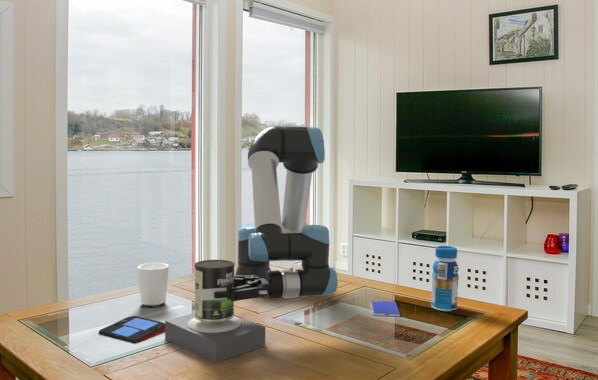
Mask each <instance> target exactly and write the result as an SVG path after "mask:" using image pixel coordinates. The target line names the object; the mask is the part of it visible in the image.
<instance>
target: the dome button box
mask: <svg viewBox="0 0 598 380" xmlns="http://www.w3.org/2000/svg"><path fill="white" fill-rule="evenodd" d="M164 323H165V331H164V339H165V340H167V341H169V342H171V343H173V344H175V345H177V346H179V347H182V348H183V349H185V350H188V351H190V352H192V353H194V354H196V355H198V356H200V357H202V358H204V359H206V360H208V361H210V362H213V363H215V364H218V363H220V362H222V361H226V360H228V359H231V358H234V357H238V356H240V355H242V354H245V353H248V352H251V351H253V350H257V349H258V348H259V349H260V348H262V347H264V345H265V346H266V326H265V325H262V324H259V323H256V322H253V321H251V320H248V319H245V318H242V317H239V316H237V315H234V317H233V318H232V319H230V320H227V321H223V322H203V321H199V320H197V319H196V318H195V312H193V313H189V314H185V315H182V316H177V317H173V318H170V319H165V320H164Z"/></svg>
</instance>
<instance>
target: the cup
mask: <svg viewBox="0 0 598 380" xmlns="http://www.w3.org/2000/svg"><path fill="white" fill-rule="evenodd" d="M136 268H137V277H138V287H139V295H140V297H139V298H140V303H141V304H142V306H143V307H144V308H148V307H150V306H151V308H157V307H158V306H165V303H166V299H167V291H168V290H167V289H168V280H169V270H170V269H169V268H170V265H169V264H168V263H165V262H146V263H142V264H139V265H138V266H137V267H136Z"/></svg>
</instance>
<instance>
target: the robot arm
mask: <svg viewBox="0 0 598 380" xmlns="http://www.w3.org/2000/svg"><path fill="white" fill-rule="evenodd" d="M325 148H326V147H325V141H324V135H323V132H322V130H321V129H320V128H319V127H315V126H314V127H313V126H286V125H285V126H283V125H282V126H281V125H273V126H269V127H266V128H265V129H263V130H262V131H260V132H259V133H258V134H257V135H256V136H255V137H254V139H253V140H252V141H251V144H250V146H249V148H248V151H247V152H248V153H247V165H248V167H249V169H250V170H251V180H252V182H251V183H252V198H253V216H254V217H253V218H254V220H253V221H254V223H253V222H252V223H248V224H244V225H241V227H240V228H239V229H238V232H237V233H238V234H237V268H236V271H235V273H234V288H231V287H230V286H227V288H211V289H200V300H201V301H202V300H217V299H229V300H230V299H231V301H234V302H239V301H245V300H250V299H257V298H266V297H267V299H269V300H273V299H293V298H300V297H303V298H304V297H322V296H328V295H332V294H335V293H336V291H337V289H338V286H339V285H338V283H339V282H338V280H339V279H338V273H337V270H335V268H333V267H330V265H329V261H330V259H329V258H330V244H331V243H330V230H329V228H328V227H327V226H325V225H321V224H308V222H307V221H306V220H307V215H308V214H307V212H308V206H309V201H310V200H309V199H310V191H311V185H312V179H313V178H312V177H313V173H314V172H316V171H317V170H318V168H319V167H318V166H319V164H320V165H321V164H323V163H324V161H326V160H325V158H326V155H325V154H326V153H325V151H326V150H325ZM279 163H282V166H283V167H284V169H285V170H286V176H285V185H284V194H283V195H284V196H283V205H282V214H281V204H280V192H279V182H278V173H277V168H278V166H279ZM281 215H282V216H281ZM274 261H275V262H276V261H277V262H278V261H279V262H280V261H290V262H292V261H293V262H294V261H301V268H299V269H297V268H296V269H294V267H289V269H283V270H281V271H280V270H279V269H278V270H272V269H271V266H270V262H274Z"/></svg>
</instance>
